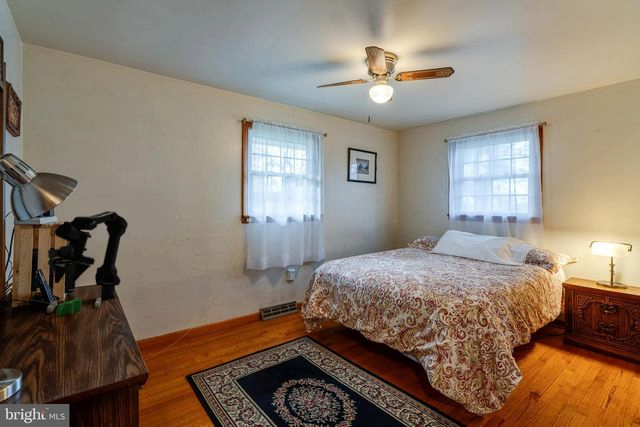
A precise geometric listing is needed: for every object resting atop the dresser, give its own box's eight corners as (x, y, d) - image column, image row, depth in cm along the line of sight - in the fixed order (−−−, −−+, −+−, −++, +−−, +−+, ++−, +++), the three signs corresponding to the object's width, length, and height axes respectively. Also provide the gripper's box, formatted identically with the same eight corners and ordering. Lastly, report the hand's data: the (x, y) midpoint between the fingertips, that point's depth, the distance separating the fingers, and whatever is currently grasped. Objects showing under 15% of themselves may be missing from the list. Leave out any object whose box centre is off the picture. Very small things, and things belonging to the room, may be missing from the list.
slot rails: (52, 305, 134) (52, 300, 134) (101, 300, 143) (101, 296, 143) (46, 312, 124) (47, 308, 124) (99, 307, 133) (99, 303, 133)
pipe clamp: (66, 317, 121) (67, 305, 121) (56, 316, 121) (57, 305, 121) (86, 308, 132) (86, 298, 132) (77, 308, 132) (77, 297, 132)
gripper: (40, 241, 122) (25, 280, 116) (73, 237, 117) (59, 277, 111) (68, 248, 132) (56, 284, 126) (100, 245, 126) (89, 282, 120)
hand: (64, 282), depth 120 cm, fingers open, 9 cm apart
